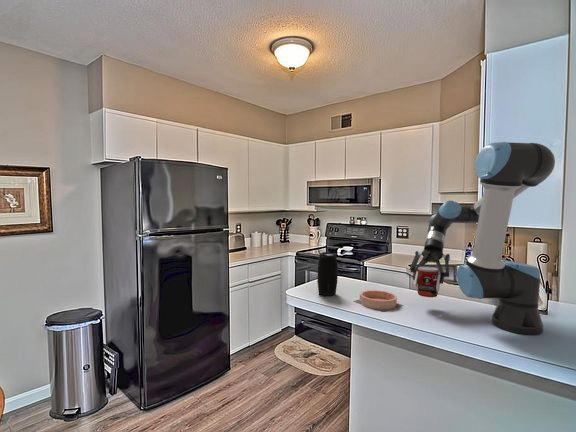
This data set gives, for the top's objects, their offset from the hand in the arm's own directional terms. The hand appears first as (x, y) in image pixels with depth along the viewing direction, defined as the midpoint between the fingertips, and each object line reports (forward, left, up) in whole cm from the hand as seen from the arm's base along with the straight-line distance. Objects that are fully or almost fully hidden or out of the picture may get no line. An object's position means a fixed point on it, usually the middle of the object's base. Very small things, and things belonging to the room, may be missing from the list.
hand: (426, 287), depth 131 cm
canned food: (+1, -3, -4) cm, 5 cm away
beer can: (-13, -38, -10) cm, 41 cm away
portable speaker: (+39, +17, -10) cm, 44 cm away
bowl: (+17, +8, -10) cm, 21 cm away
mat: (+17, +8, -10) cm, 21 cm away
